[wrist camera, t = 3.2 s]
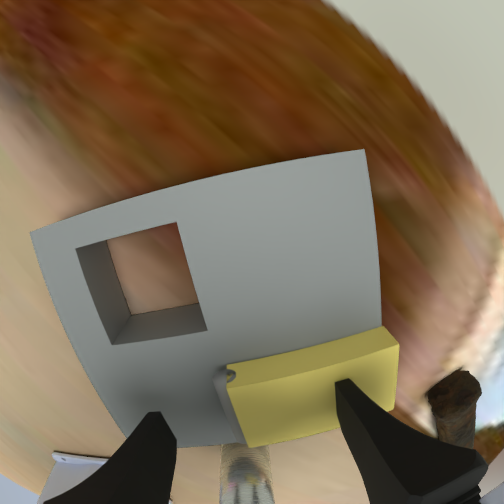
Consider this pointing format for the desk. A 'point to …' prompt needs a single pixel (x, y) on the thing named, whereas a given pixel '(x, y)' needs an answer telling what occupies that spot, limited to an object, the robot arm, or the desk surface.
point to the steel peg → (245, 475)
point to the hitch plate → (218, 285)
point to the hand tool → (456, 408)
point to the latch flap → (305, 387)
